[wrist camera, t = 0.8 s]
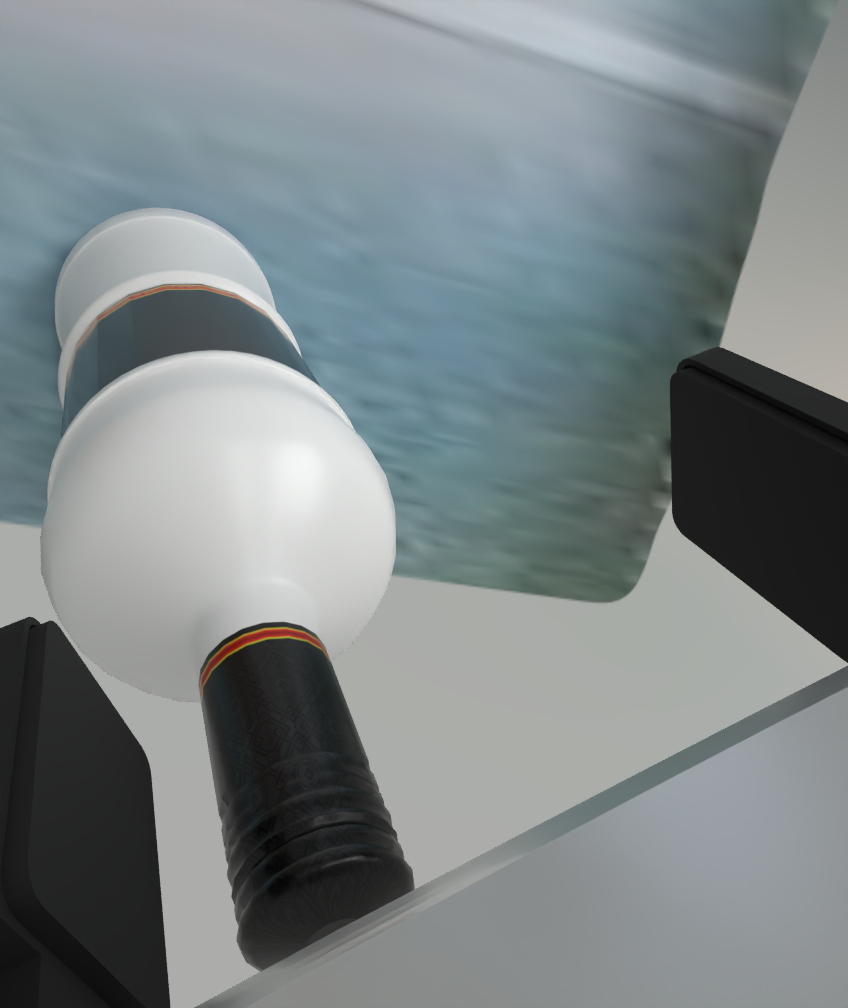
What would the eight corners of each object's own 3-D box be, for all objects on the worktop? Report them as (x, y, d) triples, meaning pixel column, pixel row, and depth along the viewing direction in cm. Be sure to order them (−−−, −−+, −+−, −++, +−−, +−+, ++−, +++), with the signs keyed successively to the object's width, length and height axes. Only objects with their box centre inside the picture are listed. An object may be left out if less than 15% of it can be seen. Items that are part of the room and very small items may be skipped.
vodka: (210, 167, 32) (556, 555, 8) (299, 351, 37) (658, 900, 14) (7, 259, 31) (-288, 1013, 7) (131, 434, 36) (199, 1181, 13)
